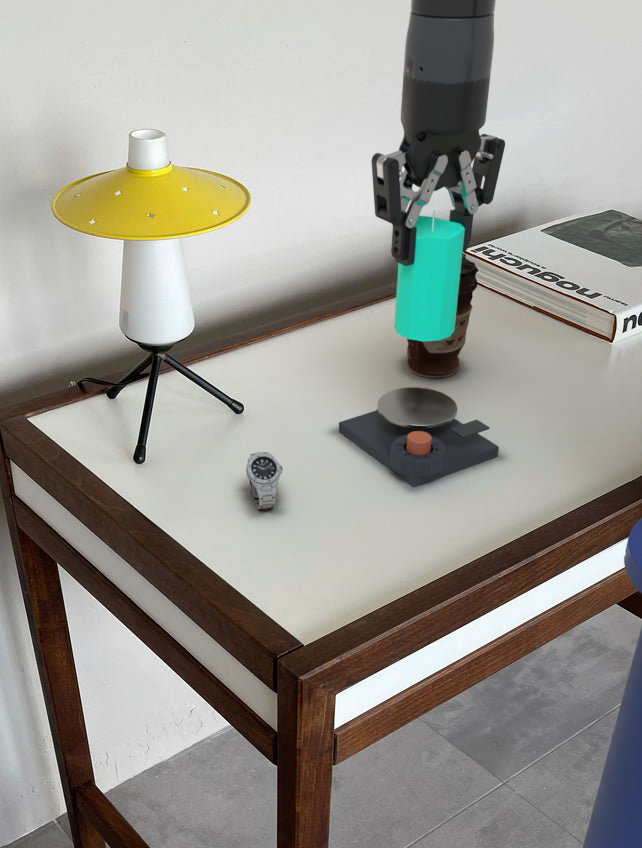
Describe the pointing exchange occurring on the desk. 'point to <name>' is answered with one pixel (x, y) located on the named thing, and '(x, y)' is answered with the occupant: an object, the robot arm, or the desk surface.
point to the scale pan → (424, 410)
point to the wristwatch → (263, 478)
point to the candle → (430, 282)
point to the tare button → (418, 443)
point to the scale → (415, 469)
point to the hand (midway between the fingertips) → (430, 255)
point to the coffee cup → (444, 353)
